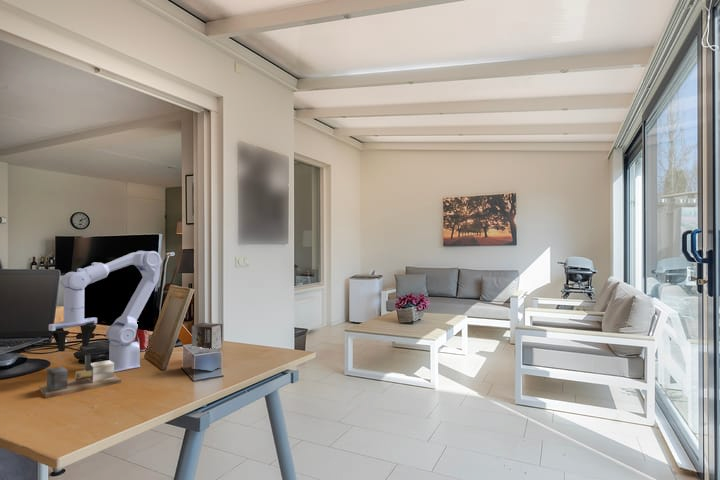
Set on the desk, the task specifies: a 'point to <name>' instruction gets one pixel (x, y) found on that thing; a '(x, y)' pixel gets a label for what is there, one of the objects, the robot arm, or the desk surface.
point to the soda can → (142, 338)
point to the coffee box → (207, 335)
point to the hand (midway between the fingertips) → (73, 348)
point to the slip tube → (87, 372)
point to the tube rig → (61, 386)
